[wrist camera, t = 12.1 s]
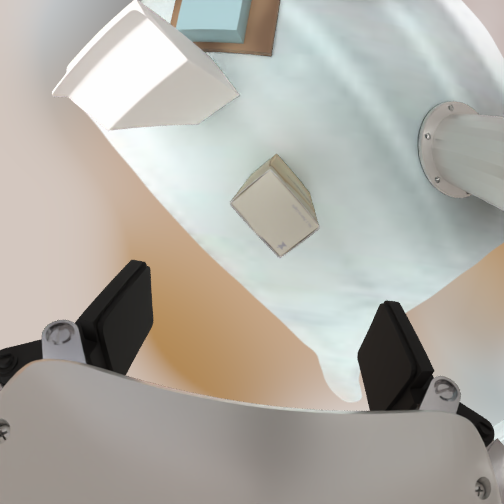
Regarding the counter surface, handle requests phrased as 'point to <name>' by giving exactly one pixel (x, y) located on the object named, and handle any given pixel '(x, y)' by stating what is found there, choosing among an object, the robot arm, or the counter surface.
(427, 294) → the counter surface
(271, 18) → the board
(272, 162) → the skincare box
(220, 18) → the brick
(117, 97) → the milk
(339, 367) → the counter surface
